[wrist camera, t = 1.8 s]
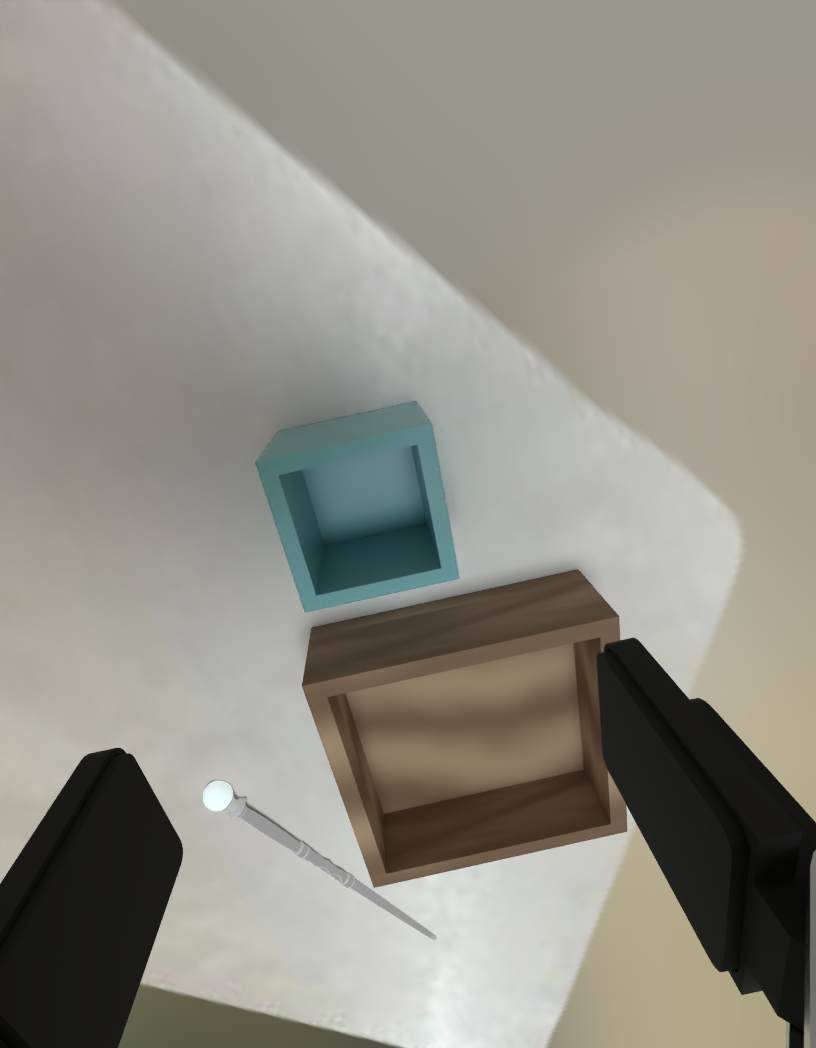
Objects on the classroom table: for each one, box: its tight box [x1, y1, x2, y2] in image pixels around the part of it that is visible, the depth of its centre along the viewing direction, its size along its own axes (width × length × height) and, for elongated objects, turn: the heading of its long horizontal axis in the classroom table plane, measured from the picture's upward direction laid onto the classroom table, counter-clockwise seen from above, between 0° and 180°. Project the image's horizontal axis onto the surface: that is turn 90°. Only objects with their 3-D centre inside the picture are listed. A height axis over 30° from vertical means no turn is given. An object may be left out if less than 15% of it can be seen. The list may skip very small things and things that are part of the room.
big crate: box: [302, 570, 627, 888], centre depth 30 cm, size 16×16×5 cm
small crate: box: [255, 401, 460, 612], centre depth 23 cm, size 7×7×6 cm
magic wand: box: [203, 781, 437, 940], centre depth 37 cm, size 2×25×2 cm
